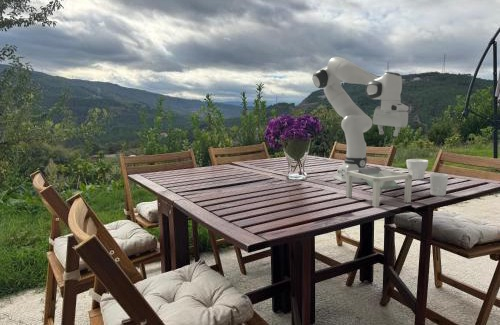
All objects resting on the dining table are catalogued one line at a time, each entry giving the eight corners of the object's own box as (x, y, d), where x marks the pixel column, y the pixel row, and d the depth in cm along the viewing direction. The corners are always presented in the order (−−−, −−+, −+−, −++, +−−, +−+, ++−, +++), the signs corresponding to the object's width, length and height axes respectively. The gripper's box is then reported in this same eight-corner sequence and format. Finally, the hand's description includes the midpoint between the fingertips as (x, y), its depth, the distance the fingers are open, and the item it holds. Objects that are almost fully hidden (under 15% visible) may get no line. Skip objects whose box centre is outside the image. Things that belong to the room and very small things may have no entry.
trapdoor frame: (345, 196, 182) (346, 171, 180) (378, 193, 190) (379, 168, 188) (375, 207, 163) (376, 178, 161) (410, 202, 170) (412, 175, 169)
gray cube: (375, 179, 173) (379, 171, 170) (384, 178, 175) (388, 170, 172) (382, 186, 169) (386, 178, 166) (390, 185, 171) (395, 177, 168)
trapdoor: (355, 174, 179) (357, 169, 177) (378, 172, 184) (381, 167, 183) (372, 193, 169) (374, 188, 167) (396, 190, 174) (399, 185, 172)
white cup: (439, 197, 180) (441, 176, 179) (425, 193, 187) (426, 174, 186) (450, 195, 184) (451, 175, 182) (436, 192, 191) (437, 172, 189)
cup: (428, 177, 230) (429, 159, 228) (425, 180, 220) (427, 162, 218) (407, 175, 237) (408, 158, 235) (403, 179, 226) (404, 160, 225)
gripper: (370, 105, 189) (368, 133, 191) (401, 107, 170) (398, 137, 173) (380, 106, 191) (378, 133, 194) (411, 107, 173) (408, 137, 175)
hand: (388, 135), depth 183 cm, fingers open, 8 cm apart
